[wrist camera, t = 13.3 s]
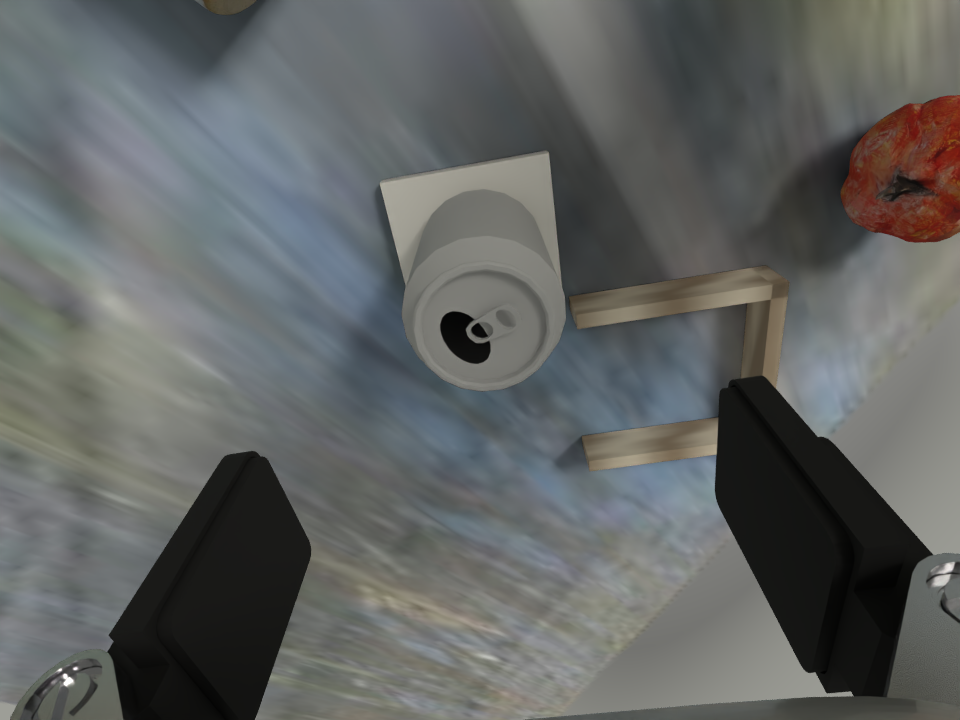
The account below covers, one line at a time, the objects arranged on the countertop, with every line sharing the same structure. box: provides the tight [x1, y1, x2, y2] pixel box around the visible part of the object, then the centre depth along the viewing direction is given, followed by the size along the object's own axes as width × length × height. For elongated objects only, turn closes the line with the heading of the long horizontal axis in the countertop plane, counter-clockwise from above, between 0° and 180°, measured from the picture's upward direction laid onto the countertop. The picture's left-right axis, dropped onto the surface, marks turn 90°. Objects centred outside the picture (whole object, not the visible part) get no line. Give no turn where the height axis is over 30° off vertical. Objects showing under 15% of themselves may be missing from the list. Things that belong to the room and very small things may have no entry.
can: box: [402, 189, 566, 392], centre depth 28 cm, size 8×8×12 cm
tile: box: [380, 150, 562, 287], centre depth 33 cm, size 10×10×1 cm
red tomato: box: [840, 95, 960, 242], centre depth 29 cm, size 7×7×10 cm
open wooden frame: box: [569, 265, 789, 471], centre depth 37 cm, size 13×13×3 cm
